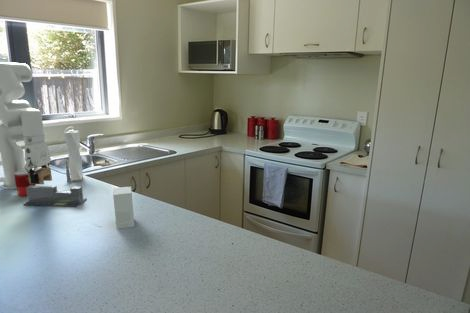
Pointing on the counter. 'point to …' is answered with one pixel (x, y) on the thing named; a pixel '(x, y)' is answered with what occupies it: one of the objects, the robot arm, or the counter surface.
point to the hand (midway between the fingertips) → (40, 180)
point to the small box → (123, 207)
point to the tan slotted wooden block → (42, 175)
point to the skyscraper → (73, 156)
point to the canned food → (22, 182)
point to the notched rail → (54, 196)
